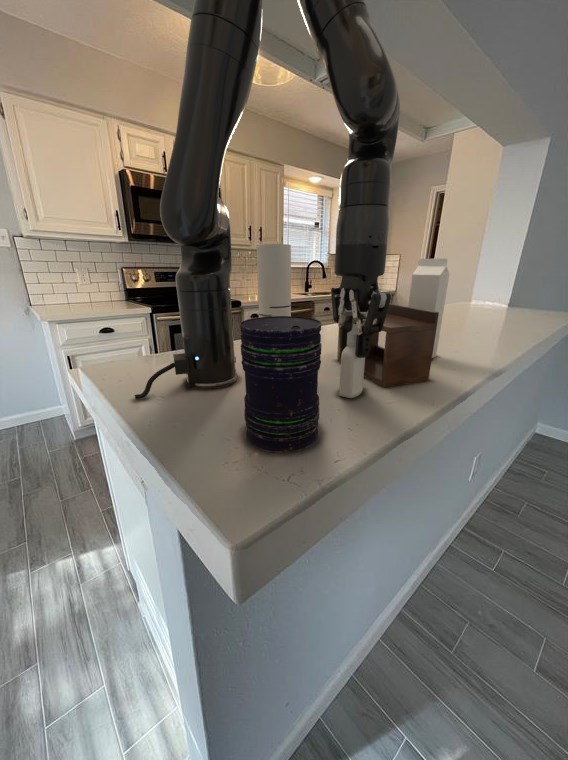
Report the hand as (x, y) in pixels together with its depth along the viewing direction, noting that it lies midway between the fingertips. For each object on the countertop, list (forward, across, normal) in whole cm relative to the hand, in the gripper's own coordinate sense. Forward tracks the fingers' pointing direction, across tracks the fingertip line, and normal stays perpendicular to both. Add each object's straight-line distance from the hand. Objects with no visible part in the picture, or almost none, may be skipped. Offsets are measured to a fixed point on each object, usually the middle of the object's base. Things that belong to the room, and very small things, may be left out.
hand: (353, 352), depth 54 cm
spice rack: (+7, -9, +12) cm, 17 cm away
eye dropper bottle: (+8, 0, 0) cm, 8 cm away
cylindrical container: (+8, -24, -6) cm, 26 cm away
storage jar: (+8, +9, -16) cm, 20 cm away
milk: (+8, -14, +27) cm, 31 cm away
